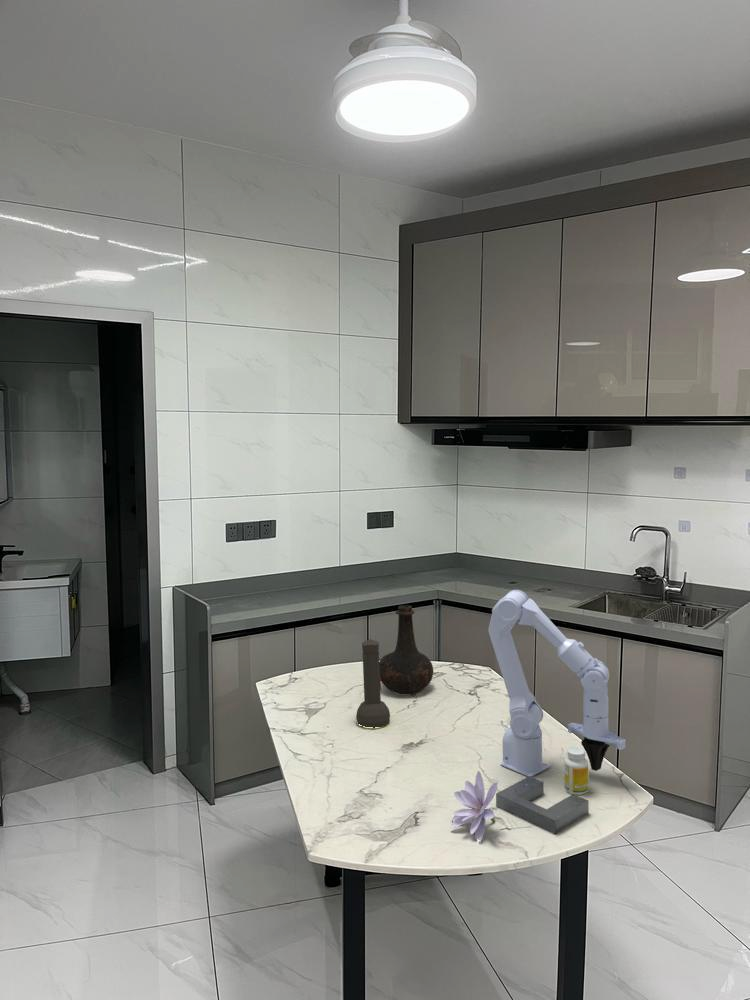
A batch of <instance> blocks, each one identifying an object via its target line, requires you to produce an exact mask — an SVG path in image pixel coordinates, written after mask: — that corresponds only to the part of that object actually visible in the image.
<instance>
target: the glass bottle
mask: <svg viewBox="0 0 750 1000" xmlns="http://www.w3.org/2000/svg"><path fill="white" fill-rule="evenodd" d="M397 608H398V610H396V612H395V615H396V614H397V615H398V622H397V623H398V624H397V625H398V626H397V627H398V629H397V639H396V640H397V641H396V646H395V649H394V651H392V652H390V653H388V654H385V655H383V656H382V657H381V658H380V659H379V668H380V678H381V685H383V686H384V687H385V688H386V689H387V690H389V691H390V692H392V693H394V692H395V693H394V694H397V693H398V695H402V694H410V695H415V694H417V693H418V694H419V693H420V692H422V691H423V690H425V689H426V688H427V687H428V686H429V684H430V683H431V681H432V679H433V678H434V677H433V676H434V667H433V663H432V661H431V660H430V658H429V657H428V656H427V655H425V654H423V653H422V652H420V651H419V650H418V647H417V643H416V640H415V633H414V631H415V630H414V624H413V615H414V614H415V611H414V610H412V608H413V607H412V606H411V605H405V604H404V605H403V604H402V605H398V606H397Z"/></svg>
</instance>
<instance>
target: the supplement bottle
mask: <svg viewBox="0 0 750 1000" xmlns="http://www.w3.org/2000/svg"><path fill="white" fill-rule="evenodd" d="M566 751H567V757H565V758H564V763H563V764H564V765H563V766H564V771H563V773H564V779H563V780H564V781H563V782H564V784H563V785H564V791H566V792H567V793H568V794H570V795H572V794H574V795H577V796H582V795H585V794H587V793H588V791H589V761H588V760H587V758H586V751H585V749H584V748H582V747H578V746H573V747H572V746H571V747H569V748H568V749H567V750H566Z"/></svg>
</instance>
